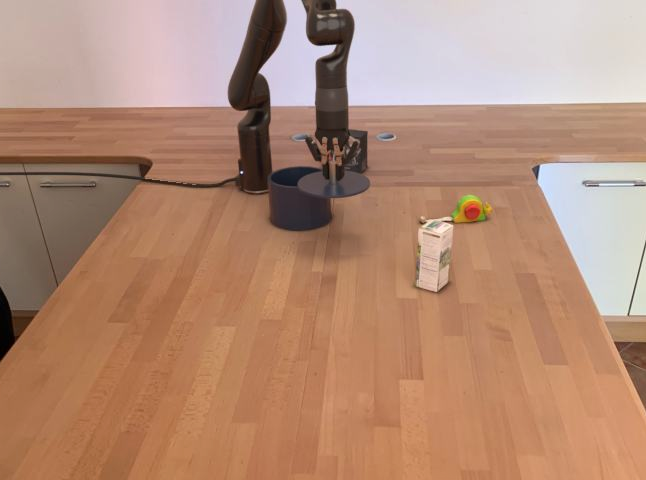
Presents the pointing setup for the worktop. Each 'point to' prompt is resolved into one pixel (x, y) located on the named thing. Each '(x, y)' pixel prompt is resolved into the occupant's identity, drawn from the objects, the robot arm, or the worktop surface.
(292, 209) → the tin
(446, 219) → the toy measuring tape
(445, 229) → the syrup box
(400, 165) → the worktop surface
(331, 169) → the tin lid
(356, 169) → the small box
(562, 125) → the worktop surface
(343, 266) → the worktop surface
